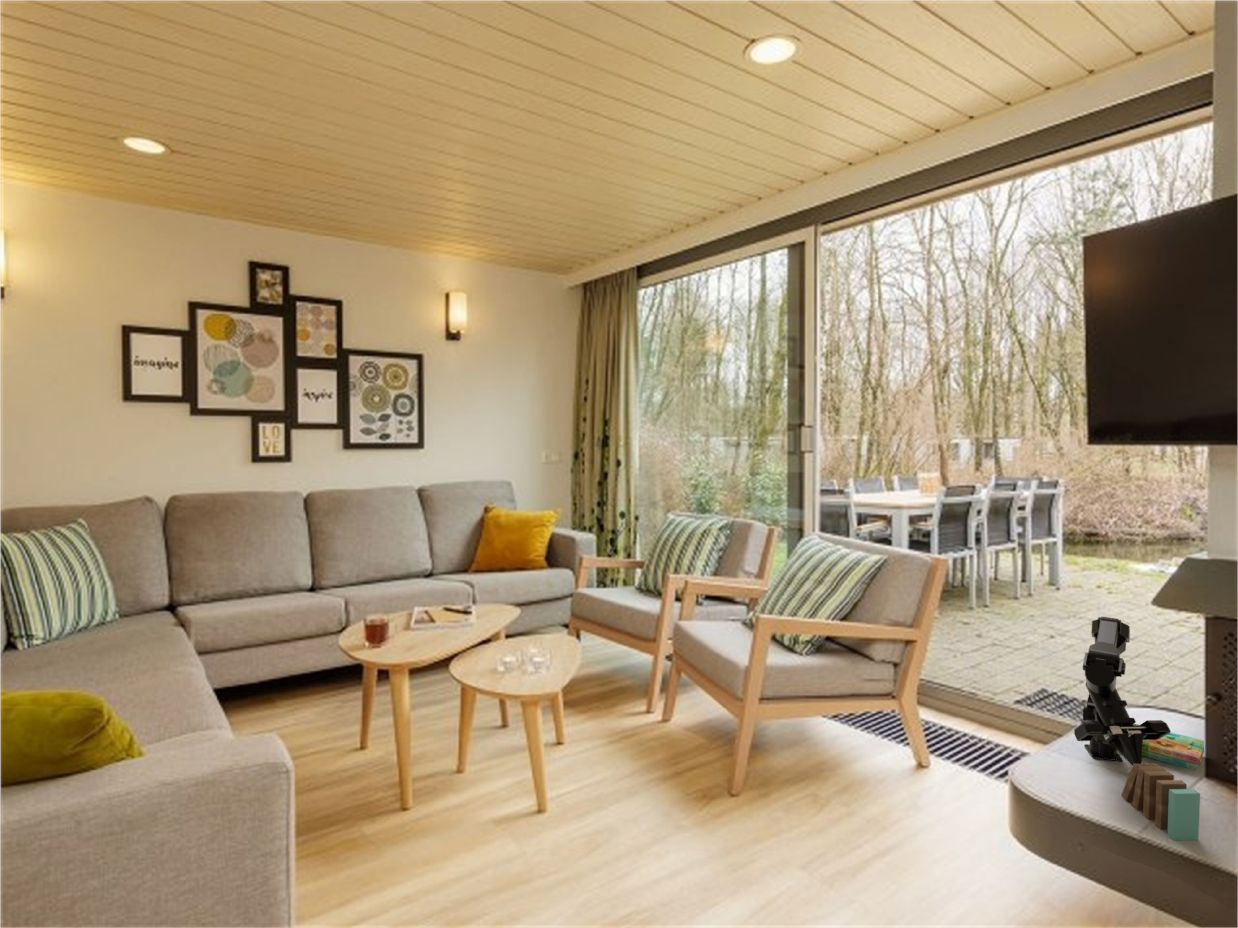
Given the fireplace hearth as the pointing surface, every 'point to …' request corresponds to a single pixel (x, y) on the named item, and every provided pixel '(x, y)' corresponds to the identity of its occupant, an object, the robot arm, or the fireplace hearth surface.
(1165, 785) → the domino
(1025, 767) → the fireplace hearth surface
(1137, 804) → the domino
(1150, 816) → the domino
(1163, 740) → the puzzle game
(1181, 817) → the domino
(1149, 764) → the domino
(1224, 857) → the fireplace hearth surface
